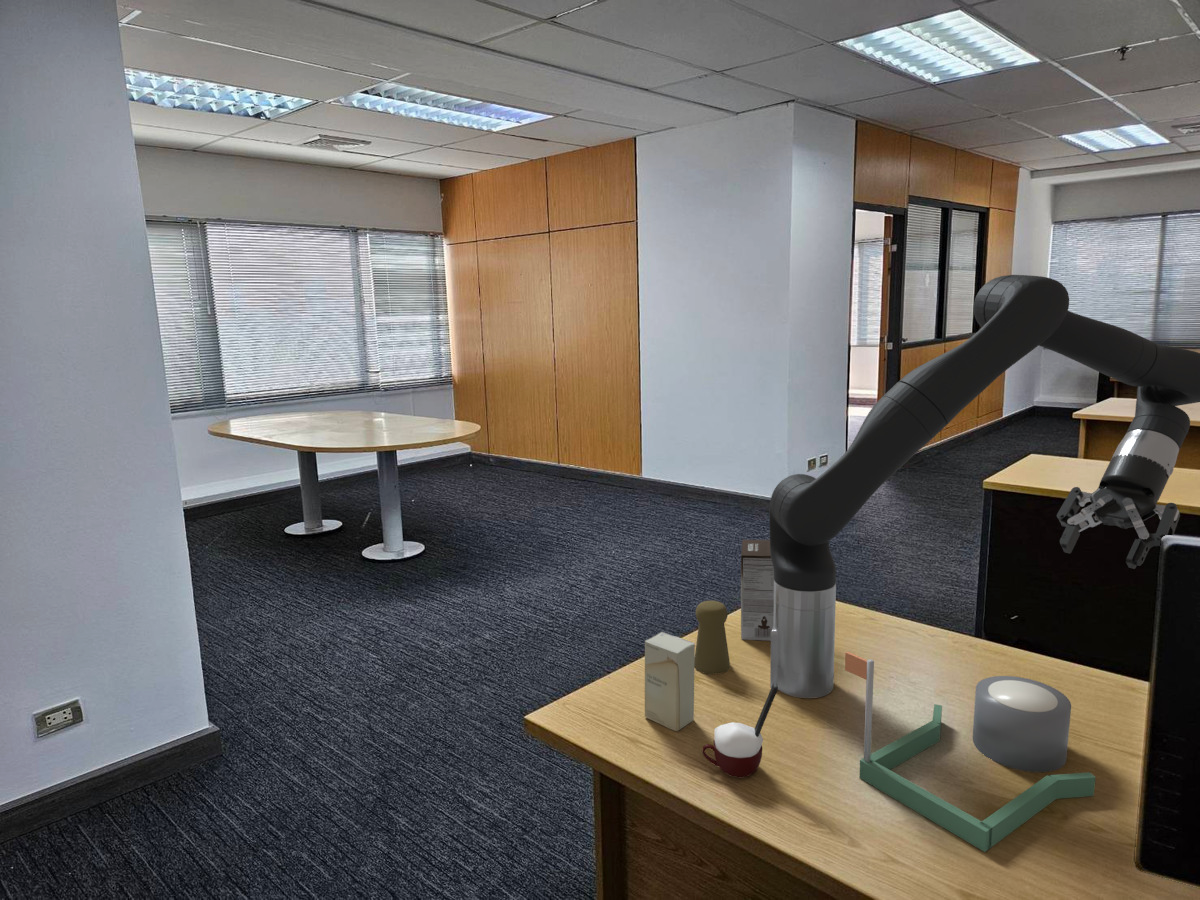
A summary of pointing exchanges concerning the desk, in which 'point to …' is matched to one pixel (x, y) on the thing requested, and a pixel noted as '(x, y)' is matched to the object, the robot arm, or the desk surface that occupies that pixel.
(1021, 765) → the grey cylinder
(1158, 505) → the robot arm
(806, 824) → the desk surface
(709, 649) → the cork
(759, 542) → the coffee box
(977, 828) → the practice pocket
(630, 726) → the desk surface
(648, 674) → the skincare box
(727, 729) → the cocoa
